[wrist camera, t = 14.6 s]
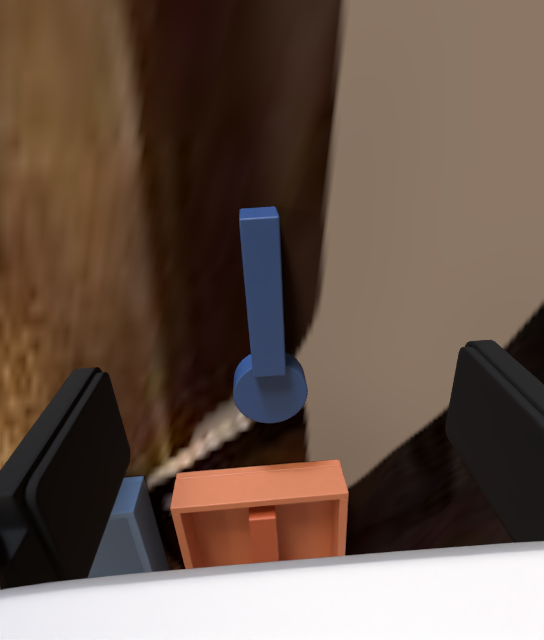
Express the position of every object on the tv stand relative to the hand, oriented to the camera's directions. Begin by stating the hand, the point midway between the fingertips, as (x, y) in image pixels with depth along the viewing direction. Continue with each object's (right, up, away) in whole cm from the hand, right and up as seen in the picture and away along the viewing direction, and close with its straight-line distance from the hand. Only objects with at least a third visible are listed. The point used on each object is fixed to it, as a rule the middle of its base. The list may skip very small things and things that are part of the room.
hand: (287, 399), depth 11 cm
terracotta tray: (-1, -13, +17) cm, 21 cm away
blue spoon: (-1, +2, +9) cm, 9 cm away
